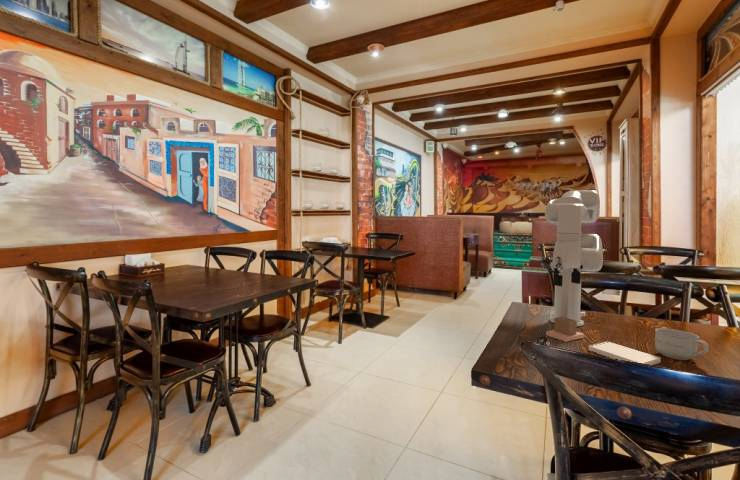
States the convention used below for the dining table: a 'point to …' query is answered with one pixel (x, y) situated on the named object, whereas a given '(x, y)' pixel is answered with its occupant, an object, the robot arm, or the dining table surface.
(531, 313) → the dining table surface
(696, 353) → the teacup
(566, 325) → the stub
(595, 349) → the ticket pad
